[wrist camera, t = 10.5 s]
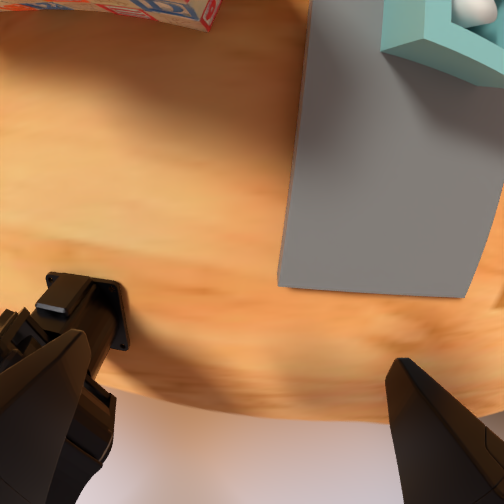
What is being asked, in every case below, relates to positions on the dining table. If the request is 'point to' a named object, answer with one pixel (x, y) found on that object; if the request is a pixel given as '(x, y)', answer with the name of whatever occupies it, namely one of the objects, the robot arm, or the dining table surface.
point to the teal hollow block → (445, 40)
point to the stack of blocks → (133, 9)
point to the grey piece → (388, 162)
